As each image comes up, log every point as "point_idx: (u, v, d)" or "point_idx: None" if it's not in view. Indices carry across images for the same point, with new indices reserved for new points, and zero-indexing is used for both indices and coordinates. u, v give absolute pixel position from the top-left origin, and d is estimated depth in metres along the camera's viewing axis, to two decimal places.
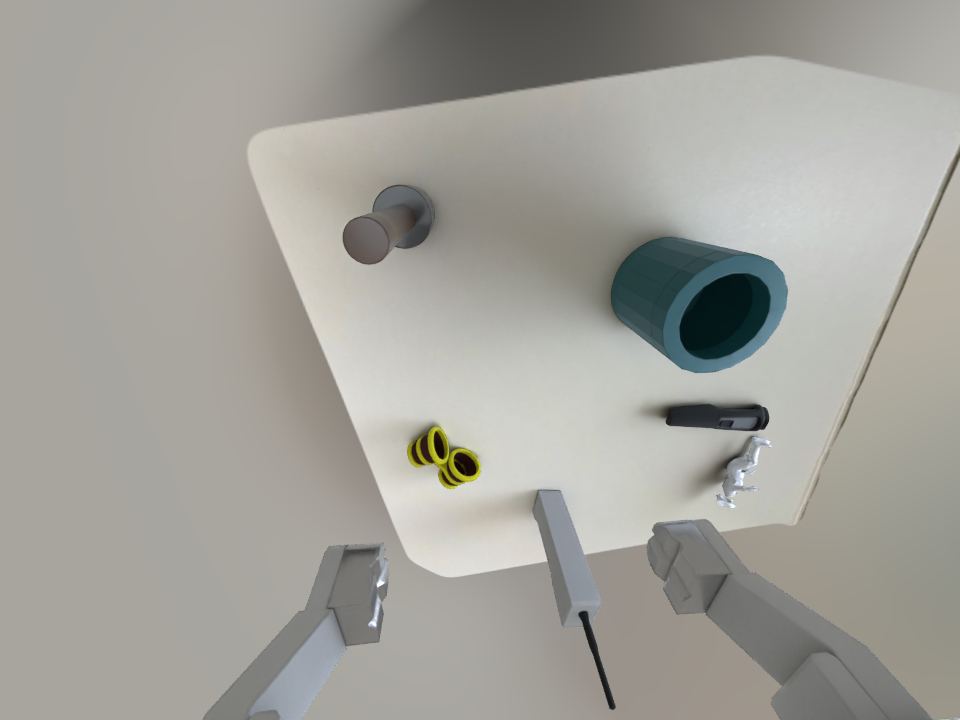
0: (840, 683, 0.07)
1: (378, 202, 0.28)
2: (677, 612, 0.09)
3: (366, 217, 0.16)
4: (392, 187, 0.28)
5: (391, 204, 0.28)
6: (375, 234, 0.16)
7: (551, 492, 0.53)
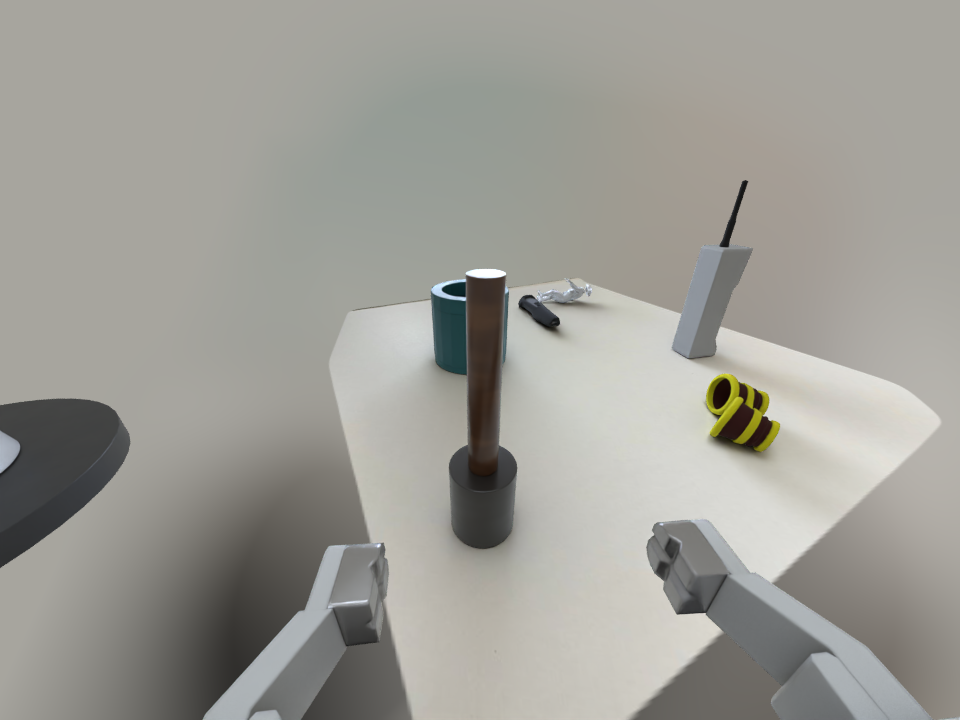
0: (840, 683, 0.07)
1: (475, 488, 0.23)
2: (677, 612, 0.09)
3: (466, 275, 0.18)
4: (454, 478, 0.24)
5: (472, 476, 0.24)
6: (477, 271, 0.19)
7: (679, 350, 0.55)
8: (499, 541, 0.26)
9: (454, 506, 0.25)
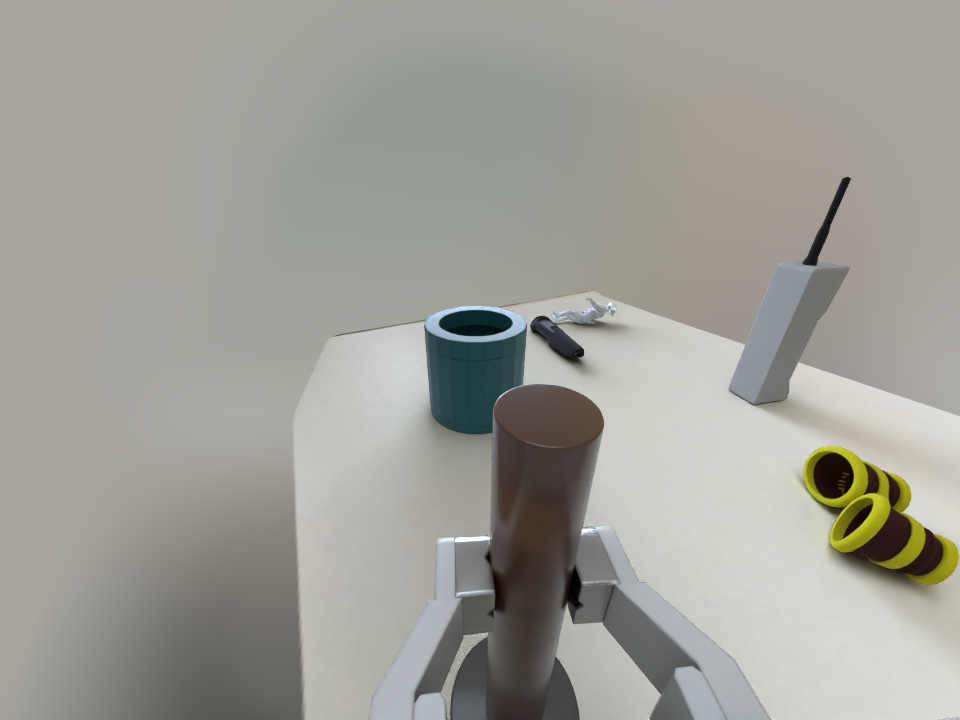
0: (697, 699, 0.06)
1: None
2: (574, 622, 0.09)
3: (495, 421, 0.07)
4: None
5: None
6: (522, 400, 0.07)
7: (740, 393, 0.43)
8: None
9: None
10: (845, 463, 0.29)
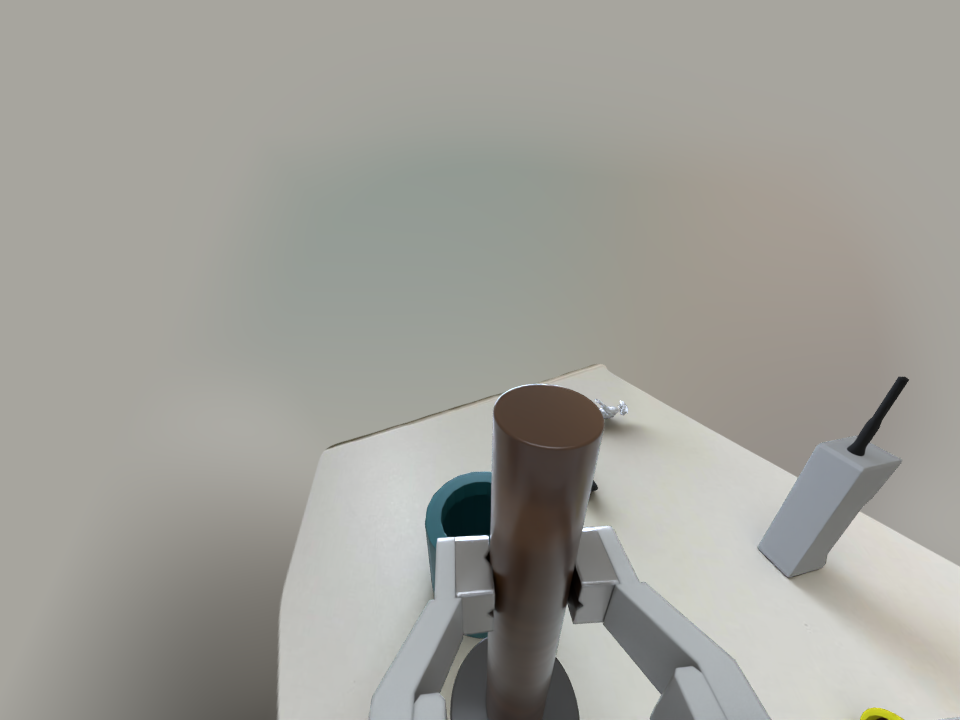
0: (697, 699, 0.06)
1: None
2: (574, 622, 0.09)
3: (496, 421, 0.07)
4: None
5: None
6: (523, 401, 0.07)
7: (771, 558, 0.39)
8: None
9: None
10: None
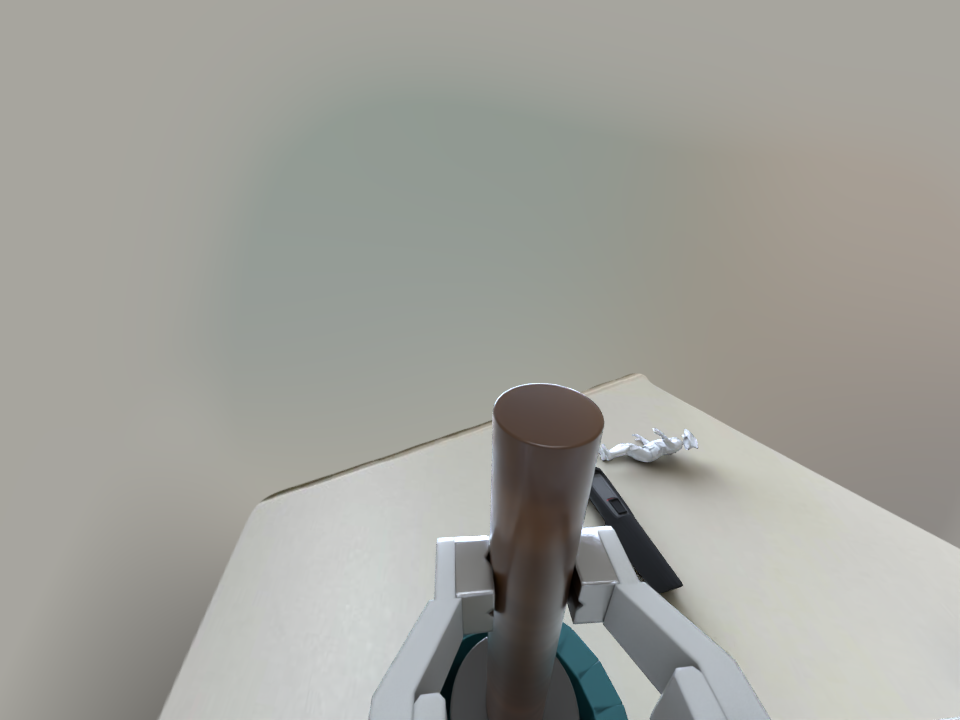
0: (697, 699, 0.06)
1: None
2: (574, 622, 0.09)
3: (495, 420, 0.07)
4: None
5: None
6: (522, 400, 0.07)
7: None
8: None
9: None
10: None
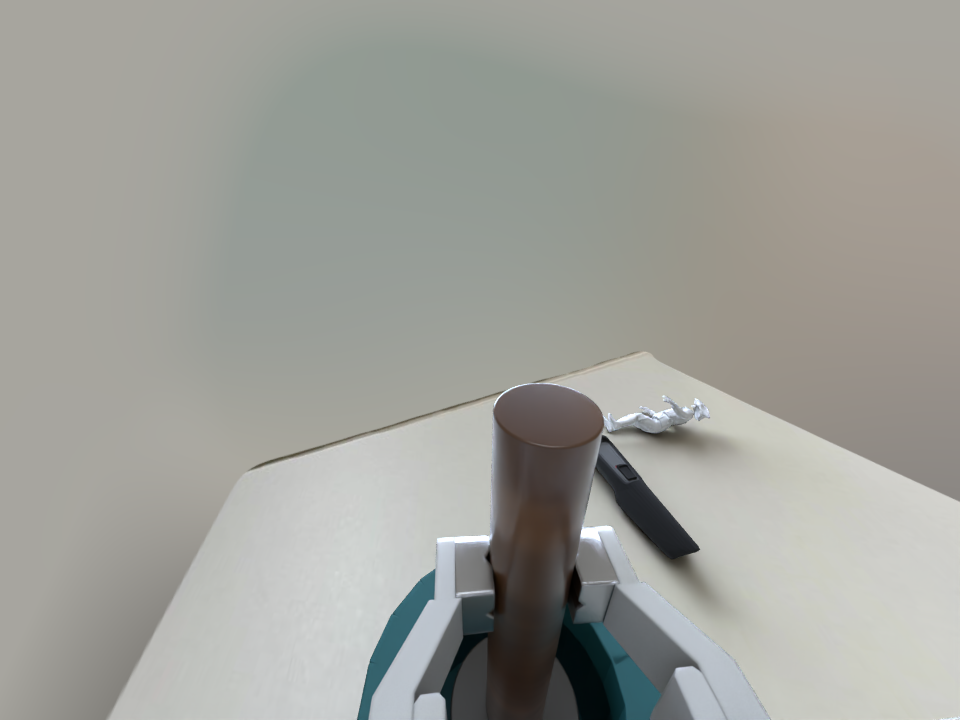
0: (697, 699, 0.06)
1: None
2: (574, 622, 0.09)
3: (495, 420, 0.07)
4: None
5: None
6: (522, 400, 0.07)
7: None
8: None
9: None
10: None
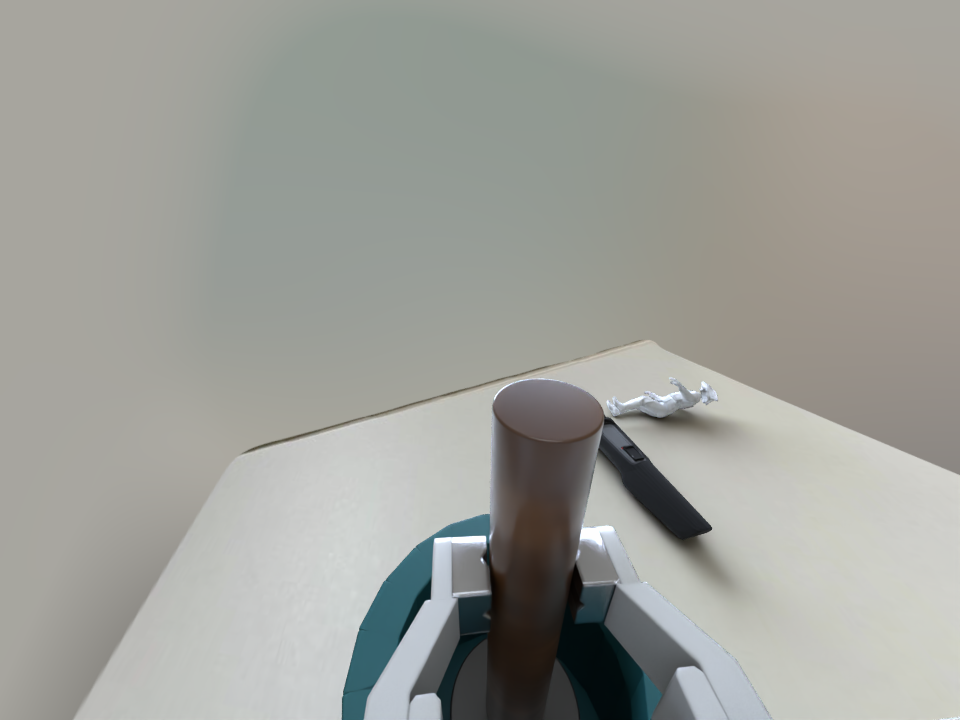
0: (699, 699, 0.06)
1: None
2: (575, 622, 0.09)
3: (494, 415, 0.07)
4: None
5: None
6: (522, 395, 0.07)
7: None
8: None
9: None
10: None
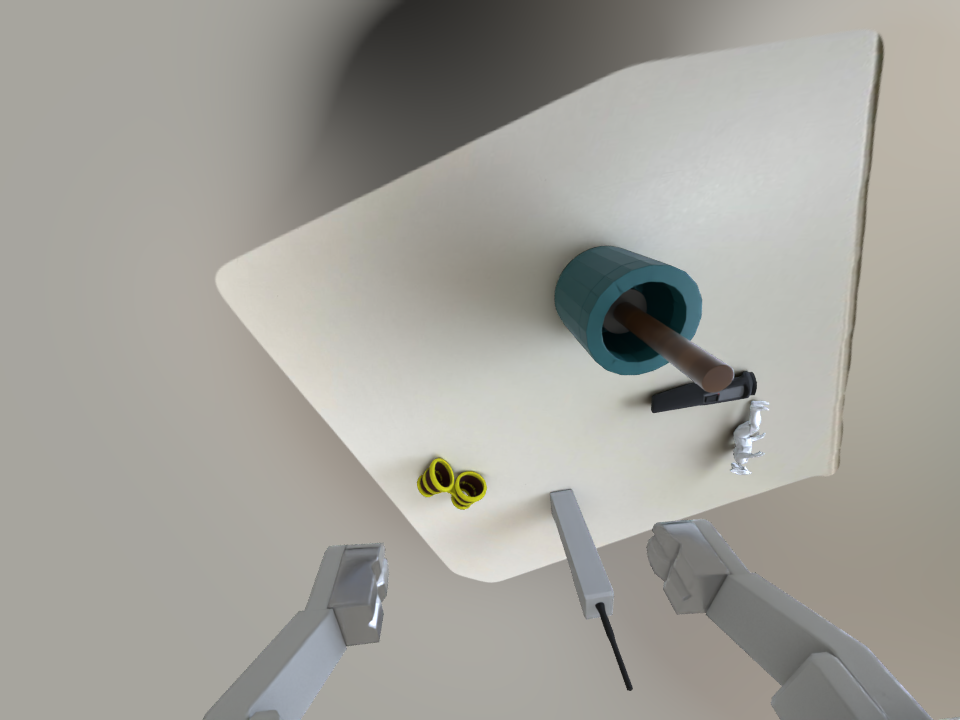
0: (840, 683, 0.07)
1: None
2: (677, 612, 0.09)
3: (720, 364, 0.23)
4: None
5: (615, 304, 0.35)
6: (725, 373, 0.23)
7: (562, 492, 0.56)
8: None
9: None
10: None
